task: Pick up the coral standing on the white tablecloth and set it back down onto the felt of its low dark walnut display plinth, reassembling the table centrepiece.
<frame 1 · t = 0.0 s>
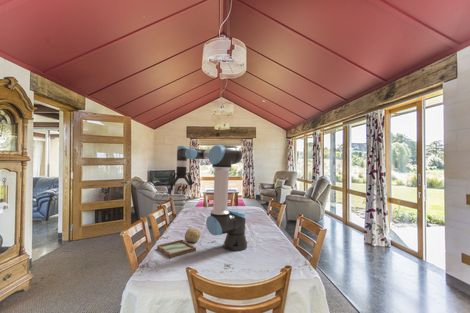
hand: (180, 194, 182), 28 cm above the table, fingers open, 13 cm apart
coral: (192, 242, 159), on the table
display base: (176, 250, 145), on the table
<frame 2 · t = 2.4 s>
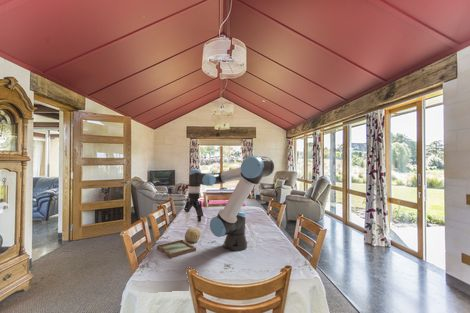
hand: (192, 224, 159), 12 cm above the table, fingers open, 13 cm apart
nothing on the table moved.
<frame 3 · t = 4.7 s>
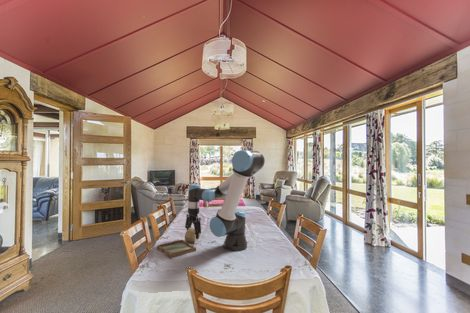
hand: (192, 241, 159), 0 cm above the table, fingers closed on coral, 9 cm apart
coral: (192, 242, 159), on the table, touching gripper
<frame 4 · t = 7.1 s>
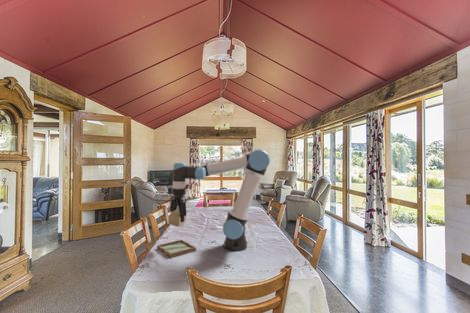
hand: (177, 225, 145), 15 cm above the table, fingers closed on coral, 9 cm apart
coral: (177, 226, 145), point 14 cm above the table, touching gripper
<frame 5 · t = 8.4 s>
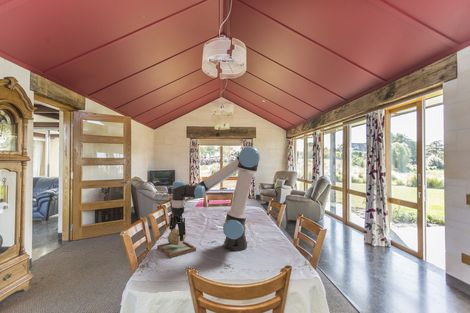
hand: (176, 243, 145), 4 cm above the table, fingers closed on coral, 9 cm apart
coral: (176, 244, 145), point 3 cm above the table, touching gripper
when the fingers open (2 cm above the table, at t = 9.5 s): coral stays where it is, resting on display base.
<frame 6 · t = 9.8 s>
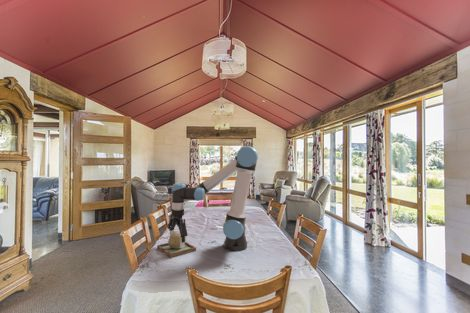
hand: (176, 244, 145), 4 cm above the table, fingers open, 12 cm apart
coral: (176, 248, 144), point 1 cm above the table, touching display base
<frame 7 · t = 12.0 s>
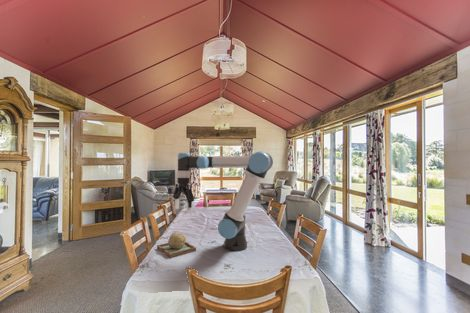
hand: (182, 210, 151), 23 cm above the table, fingers open, 13 cm apart
nothing on the table moved.
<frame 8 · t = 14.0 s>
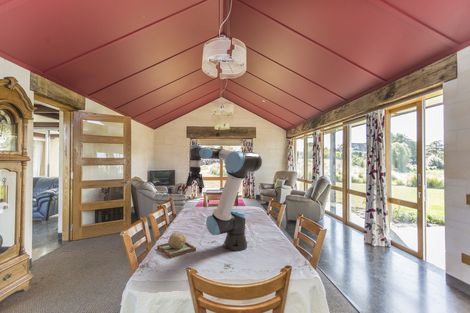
hand: (194, 196, 170), 29 cm above the table, fingers open, 13 cm apart
nothing on the table moved.
at the end: coral inside the target area on the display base (0.3 cm from its centre), point 1.0 cm above the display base's base; coral touching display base; the gripper is holding nothing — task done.
